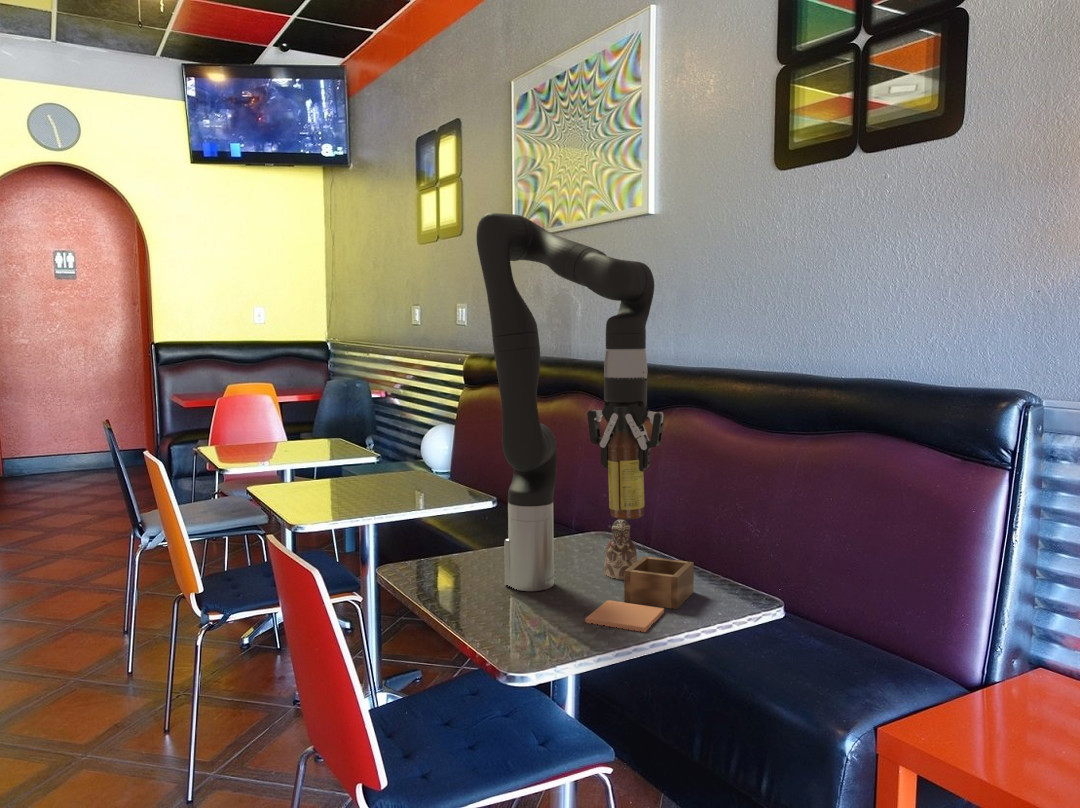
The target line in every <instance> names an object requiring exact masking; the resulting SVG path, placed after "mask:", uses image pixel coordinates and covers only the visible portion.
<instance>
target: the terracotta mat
mask: <svg viewBox="0 0 1080 808" xmlns="http://www.w3.org/2000/svg"><path fill="white" fill-rule="evenodd" d="M664 613H665V607H658V606H651V605H645V604H638V603H631V602H624V601H617V600H612V599H611V600H610V599H607V600H606V601H605V602H604V603H602V604H601V605H600V606H599V607H597V608H596V609H595V610H594V611H592V612H591V613H590V614H589V615H588V616H586V617H585V619H584V620H585V622H586V623H585V624H591V623H593V624H592V625H597V624H598V625H599V626H603V625H605V626H604V627H609V626H610V627H609V628H616V627H617V628H616V629H622V628H623V629H624V630H628V629H629V630H628V631H634V630H635V632H640V631H641V633H646V632H647V631H648V630H649V629H650V628H651V627H652V626H653V625H654V624H655V623H656V621H657V620H658V619H660V617H661V616H663V614H664ZM653 623H654V624H653ZM652 624H653V625H652ZM651 625H652V626H651ZM623 629H622V630H623Z"/></svg>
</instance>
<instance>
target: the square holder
mask: <svg viewBox="0 0 1080 808" xmlns="http://www.w3.org/2000/svg"><path fill="white" fill-rule="evenodd" d="M694 566H695V565H694V561H685V560H678V559H668V558H660V557H651V556H645V555H644V556H642V557H641V558H639V559H637V562H635V563H634V564H633V565H631V566H630V567H629V568H627V569H626V570H625V571H624V579H623V582H624V586H623V587H624V593H623V596H624V597H623V598H624V600H623V602H624V603H631V604H638V605H645V606H652V607H659V608H664V609H665V608H668V609H672V608H673V609H674V610H678V609H679V608H680V607H681V606H682V605H683V604H684V603H685V602H686V601H685V600H687V599H689V598H690V597H691V595H693V593H694V583H695V582H694V579H695V578H694V573H695V572H694V571H695V569H694Z"/></svg>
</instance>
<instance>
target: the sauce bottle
mask: <svg viewBox="0 0 1080 808" xmlns="http://www.w3.org/2000/svg"><path fill="white" fill-rule="evenodd" d="M612 412H613V413H616V414H617V415H618V419H617V422H616V425H615V428H614V432H613V436H612V437H611V439H610V442H609V444H608V469H607V471H608V472H607V473H608V474H607V475H608V476H607V477H608V502H609V503H608V508H609V509H610V510H609V511H610V516H611V517H612V518H614V519H617V520H619V519H624V520H636V519H639V518H640V519H641V518H642V517H644V514H645V511H644V510H645V508H644V507H645V484H644V483H645V481H644V480H645V478H644V471H640V470H639V450H641V447H640V445H639V443H638V441H637V439H636V438H635V437H634V434H633V432H632V433H631V428H630V426H629V424H628V423H627V420H626V418H625V416H626V414H629V413H631V407H620V406H617V407H613V410H612Z"/></svg>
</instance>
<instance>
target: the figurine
mask: <svg viewBox="0 0 1080 808" xmlns="http://www.w3.org/2000/svg"><path fill="white" fill-rule="evenodd" d="M611 535H612V536H611V537H612V538H611V539H610V540H609V542H608V543H607V544H606V550H605V560H604V566H603V571H604V573H603V574H604V576H606V575H607V576H606V577H608V576H609V577H608V578H610V577H611V579H612V578H616V579H615V580H624V571H625V570H626V569H627V568H629V567H630V566H631V565H633V564H634V563H635V562H637V561H638V553H637V547H636V545H635V543H634V541H633V540H632V539H631V525H630V524H629V522H628V521H627V520H626V519H616V520H615V521H614V522H613V524H612V526H611Z"/></svg>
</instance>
